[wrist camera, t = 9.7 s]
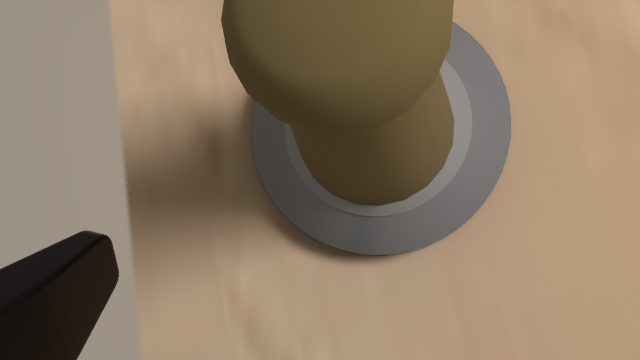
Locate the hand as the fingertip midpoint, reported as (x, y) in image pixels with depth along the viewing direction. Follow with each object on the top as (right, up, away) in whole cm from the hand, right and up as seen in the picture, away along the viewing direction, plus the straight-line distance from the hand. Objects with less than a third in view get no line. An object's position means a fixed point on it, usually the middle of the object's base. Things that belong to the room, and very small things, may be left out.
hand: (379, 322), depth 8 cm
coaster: (+1, +4, +15) cm, 15 cm away
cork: (+1, +4, +14) cm, 15 cm away
